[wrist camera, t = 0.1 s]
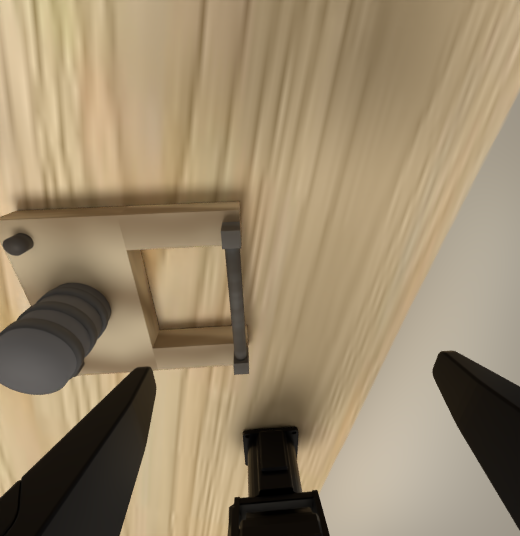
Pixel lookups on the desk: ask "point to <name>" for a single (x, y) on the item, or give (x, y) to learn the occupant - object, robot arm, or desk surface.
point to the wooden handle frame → (131, 277)
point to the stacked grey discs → (52, 339)
